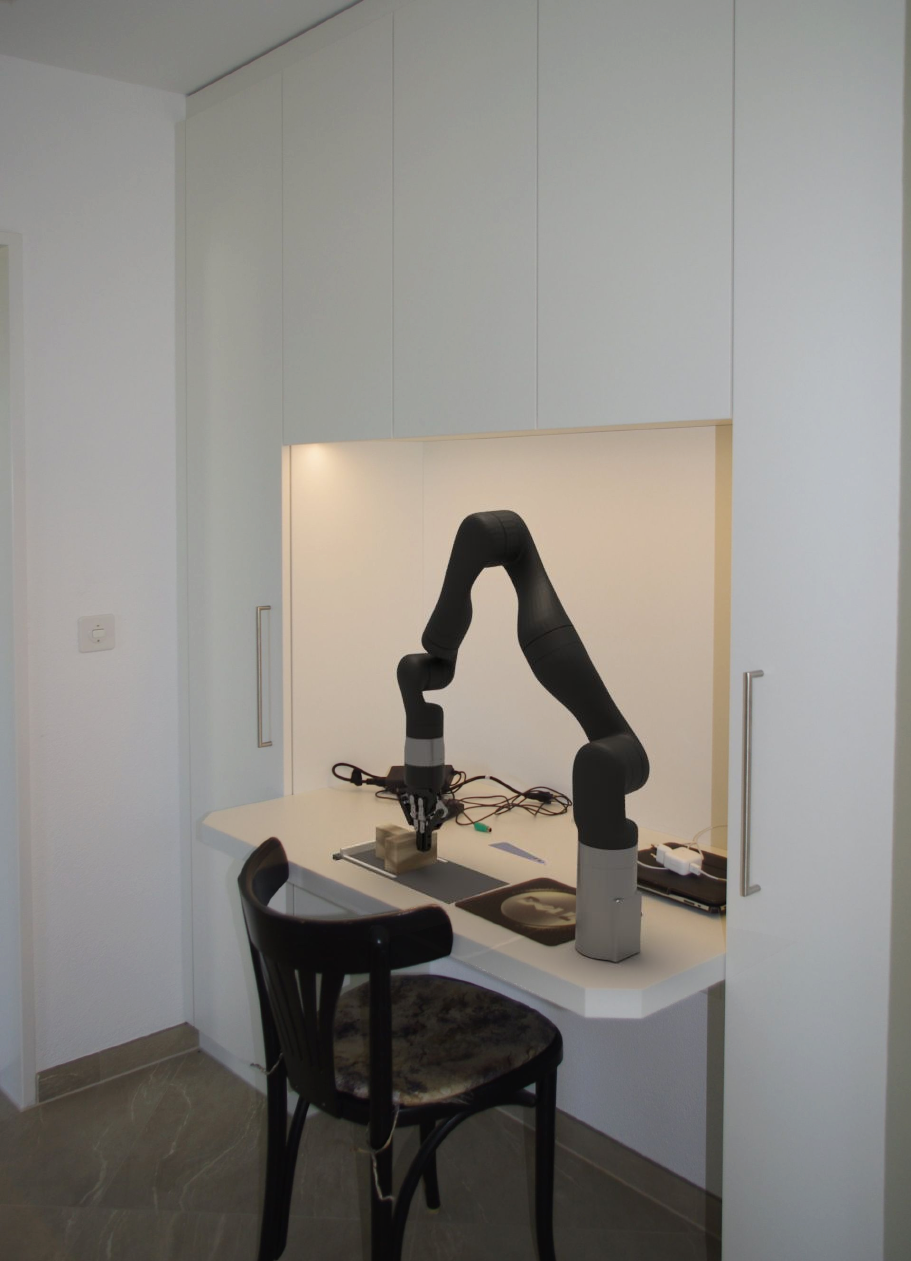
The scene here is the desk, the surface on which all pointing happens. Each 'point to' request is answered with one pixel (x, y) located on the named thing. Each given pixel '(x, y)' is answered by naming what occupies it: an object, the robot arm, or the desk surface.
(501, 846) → the lavender triangular plate
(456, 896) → the desk mat
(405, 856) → the T block
